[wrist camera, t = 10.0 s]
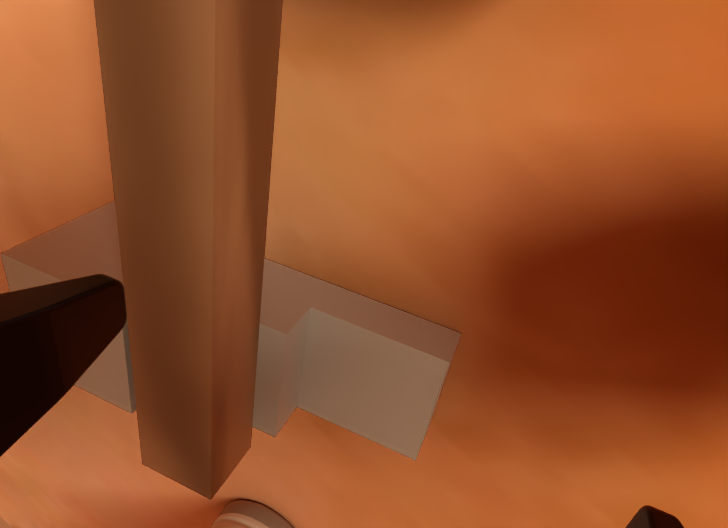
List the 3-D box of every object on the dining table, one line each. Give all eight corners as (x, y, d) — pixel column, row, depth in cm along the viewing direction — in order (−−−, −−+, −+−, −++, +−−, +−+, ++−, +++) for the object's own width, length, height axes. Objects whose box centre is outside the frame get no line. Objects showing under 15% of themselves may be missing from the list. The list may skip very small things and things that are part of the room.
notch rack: (461, 333, 22) (419, 437, 17) (428, 428, 25) (384, 539, 20) (113, 200, 26) (0, 253, 21) (123, 297, 29) (27, 361, 24)
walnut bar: (324, -588, 9) (222, -792, 7) (250, 446, 24) (210, 499, 22) (159, -578, 10) (14, -758, 7) (187, 416, 25) (142, 464, 23)
